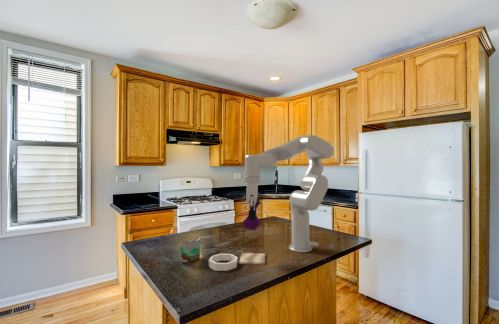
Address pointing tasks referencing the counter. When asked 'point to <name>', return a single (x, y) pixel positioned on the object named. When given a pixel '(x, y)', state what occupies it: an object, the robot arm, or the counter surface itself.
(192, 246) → the food container
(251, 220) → the perfume bottle
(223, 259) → the holder ring
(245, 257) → the coaster board
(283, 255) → the counter surface
